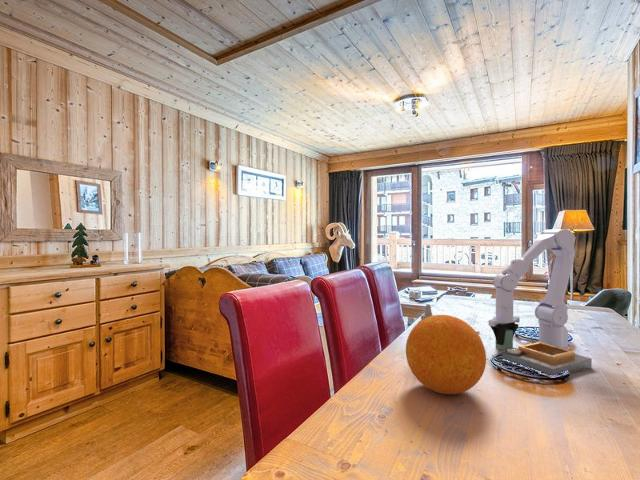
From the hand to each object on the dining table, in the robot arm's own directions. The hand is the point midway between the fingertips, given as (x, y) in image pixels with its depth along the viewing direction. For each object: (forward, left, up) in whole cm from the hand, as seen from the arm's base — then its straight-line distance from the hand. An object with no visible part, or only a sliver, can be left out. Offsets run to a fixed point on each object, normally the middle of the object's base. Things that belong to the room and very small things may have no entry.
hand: (504, 343), depth 125 cm
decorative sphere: (+46, +16, -2) cm, 49 cm away
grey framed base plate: (+2, +16, -2) cm, 16 cm away
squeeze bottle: (+32, -5, -2) cm, 32 cm away
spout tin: (0, 0, -2) cm, 2 cm away
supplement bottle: (+15, -1, -2) cm, 15 cm away
